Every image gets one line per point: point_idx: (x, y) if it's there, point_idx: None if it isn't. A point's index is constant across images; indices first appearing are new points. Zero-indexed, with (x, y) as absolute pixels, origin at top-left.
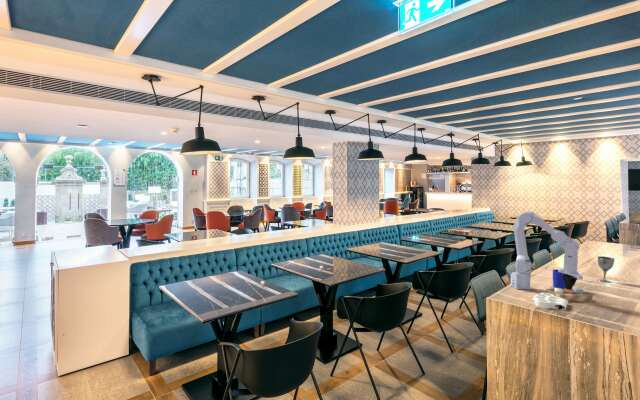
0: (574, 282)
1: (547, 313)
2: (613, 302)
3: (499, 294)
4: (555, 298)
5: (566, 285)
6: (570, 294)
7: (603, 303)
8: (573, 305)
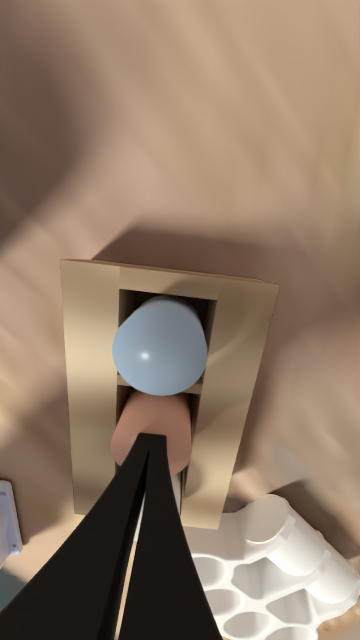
0: (187, 548)
1: (345, 619)
2: (318, 37)
3: (117, 633)
4: (241, 549)
5: (139, 513)
6: (216, 456)
7: (314, 211)
8: (295, 469)
